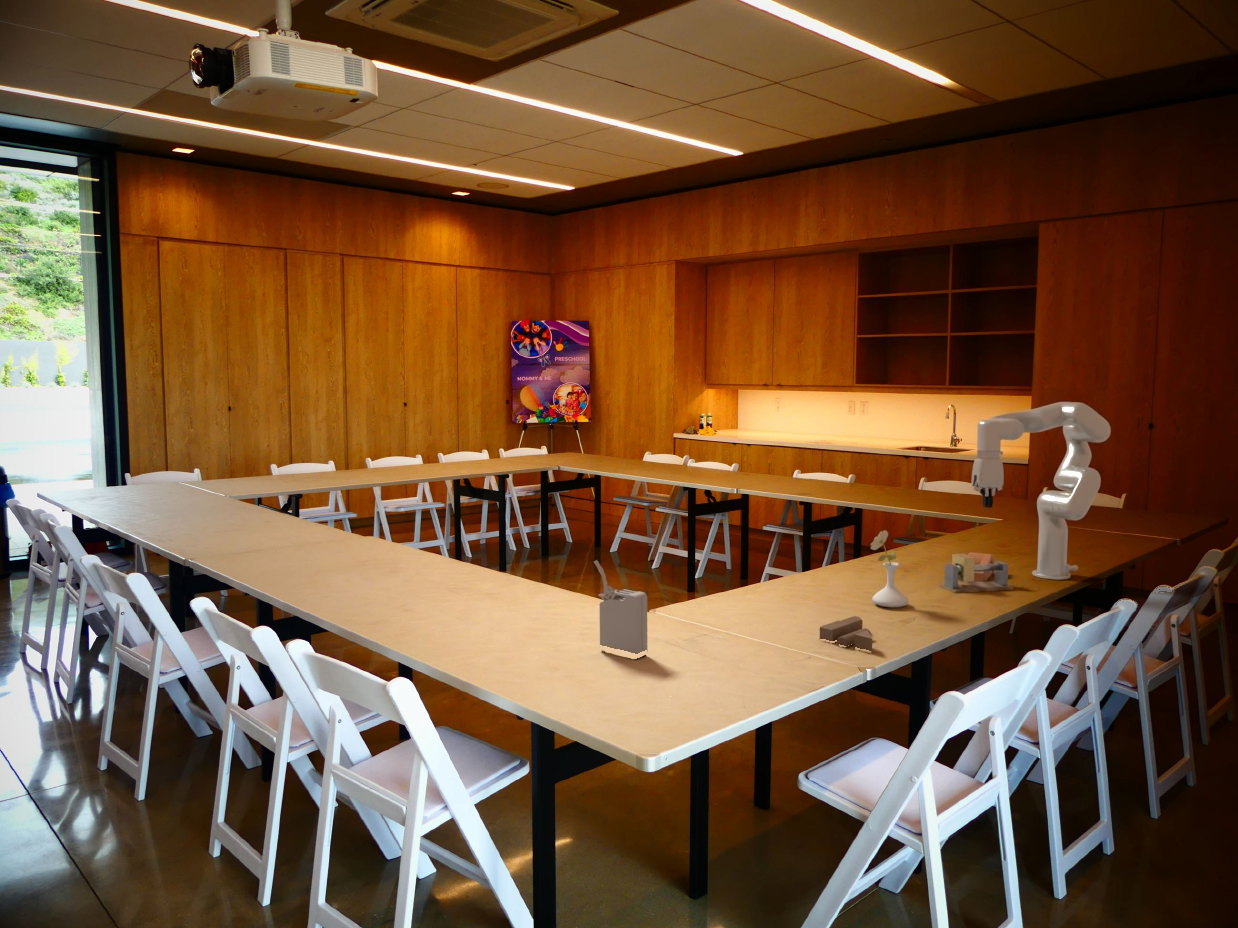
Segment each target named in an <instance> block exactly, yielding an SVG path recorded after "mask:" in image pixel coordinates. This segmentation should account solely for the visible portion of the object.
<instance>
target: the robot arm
mask: <svg viewBox="0 0 1238 928" xmlns="http://www.w3.org/2000/svg"><path fill="white" fill-rule="evenodd" d="M1058 427H1062V433H1063V437H1064V439H1065V442H1066V453H1065V455H1064V457H1063V459H1062V461H1061V463H1060V464H1059V466H1058V469H1057V471H1056V472H1055V475H1054V478H1053V484H1054V486H1055V487H1056V488H1057V489H1059V490H1061V491H1059V490H1053V489H1052V490H1045V491H1043V492H1041V493H1040V494H1039V496H1038V497H1037V500H1036V508H1037V515H1038V541H1037V567H1036V569H1034V570H1032V571H1031V573H1032V575H1033V576H1034V577H1036V578H1041V579H1045V580H1068V579H1070V578H1071V577H1072V576H1071V573H1070V572H1071V571H1072V572H1074V571H1078V570H1079V566H1078V565H1077V564H1076V565H1075V564H1073V565H1070V564H1069V563H1067V561H1068V560H1067V558H1068V556H1067V555H1068V539H1069V538H1068V537H1069V529H1068V524H1067V521H1066V520H1068V521H1079V520H1081V519H1083V518H1084V517H1085V516H1086V515H1087V513H1088V511H1089V510H1090V507H1091V506H1092V504H1093V502H1094V500H1095V498H1096V496H1097V494H1098V492H1099V491H1100V488H1101V484H1102V483H1101V482H1102V479H1101V475H1100V473H1099V471H1098V470H1096V469H1095V468H1092V467H1089V465H1090V464H1091V461H1092V455H1093V454H1092V451H1091V448H1090V445H1089V442H1090V443H1103V442H1106V441H1107V440H1108V439H1109V438H1110V436H1111V432H1112V431H1111V429H1112V428H1111V426H1110V423H1109V422H1108V420H1106V419H1105V418H1104V417H1103V416H1102V415H1100V414H1099V413H1098V412H1097V411H1096V410H1094V409H1093V408H1091V407H1090V406H1089V405H1088V404H1085V403H1083V402H1079V401H1078V402H1075V401H1073V402H1071V401H1059V402H1055V403H1051V404H1048V405H1047V404H1046V405H1043V406H1039V407H1037V408H1036V407H1035V408H1032V409H1024V410H1020V411H1015V412H1014V411H1013V412H1009V413H1003V414H1002V413H1001V414H999V415H996V416H992V417H990V418H988V419H982V420H979V421H978V422H977V435H976V436H977V437H976V438H977V441H976V444H977V445H976V458H975V459H974V461H973V465H972V471H971V486H972V487H973V491H974V492H978V493H980V495H981V496H982V506H983V508H987V509H988V508H993V503H994V496H995V495H996V493H997V492H998V491H1002V490H1003V486H1004V482H1005V481H1004V479H1005V478H1004V477H1005V476H1004V475H1005V474H1004V473H1005V472H1004V465H1003V464H1004V463H1003V459H1002V458H1001V456H1003V455H1004V452H1003V450H1002V451H1001V445H1002V443H1001V442H1002V441H1001V440H1004V441H1016V440H1018V439H1020V438H1021V437H1023V435H1024V433H1027V434H1029V433H1031V434H1032V433H1042V432H1045V431H1047V430H1052V429H1054V428H1058Z"/></svg>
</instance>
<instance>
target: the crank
mask: <svg viewBox="0 0 1238 928" xmlns="http://www.w3.org/2000/svg"><path fill="white" fill-rule="evenodd" d="M967 555H968V556H971V557H974V558H975V565H979V564H994V554H990V553H982V552H971V551H970V552H968V554H967ZM993 573H994V571H984V572H974V581H970V582H983V581H988V579H989V578H990V577H991V576H992V575H993Z"/></svg>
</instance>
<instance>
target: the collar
mask: <svg viewBox="0 0 1238 928" xmlns="http://www.w3.org/2000/svg"><path fill="white" fill-rule="evenodd" d="M951 556H952V557H951V558H952V559H951V560H952V561H951V564H953V565H955V566H960V565H961V573H958V581H961V583H965V582H970V581H974V565H975V558H974V557H971V556H968V554H965V553H952V554H951Z"/></svg>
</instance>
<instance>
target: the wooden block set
mask: <svg viewBox="0 0 1238 928" xmlns="http://www.w3.org/2000/svg"><path fill="white" fill-rule="evenodd" d="M820 639H826V640H829V641H835V640H837V643H836V644H837V645H838V644H840V645H844V646H848V645H851V644H854V645H853V646H854V647H857V648H860V649H866V650H869V651H872V652H873V637H872V633H871V631H870V630H869V628H867V627H866V628H865V627H864V628H863V620H862V618H861V617H860V616H856V615H853V616H850V617H847V618H844V619H841V620H835V621H833V622H830V623H826V624H824V625H823V624H822V625H821V626H820V627H819V640H820ZM851 646H852V645H851Z"/></svg>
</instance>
